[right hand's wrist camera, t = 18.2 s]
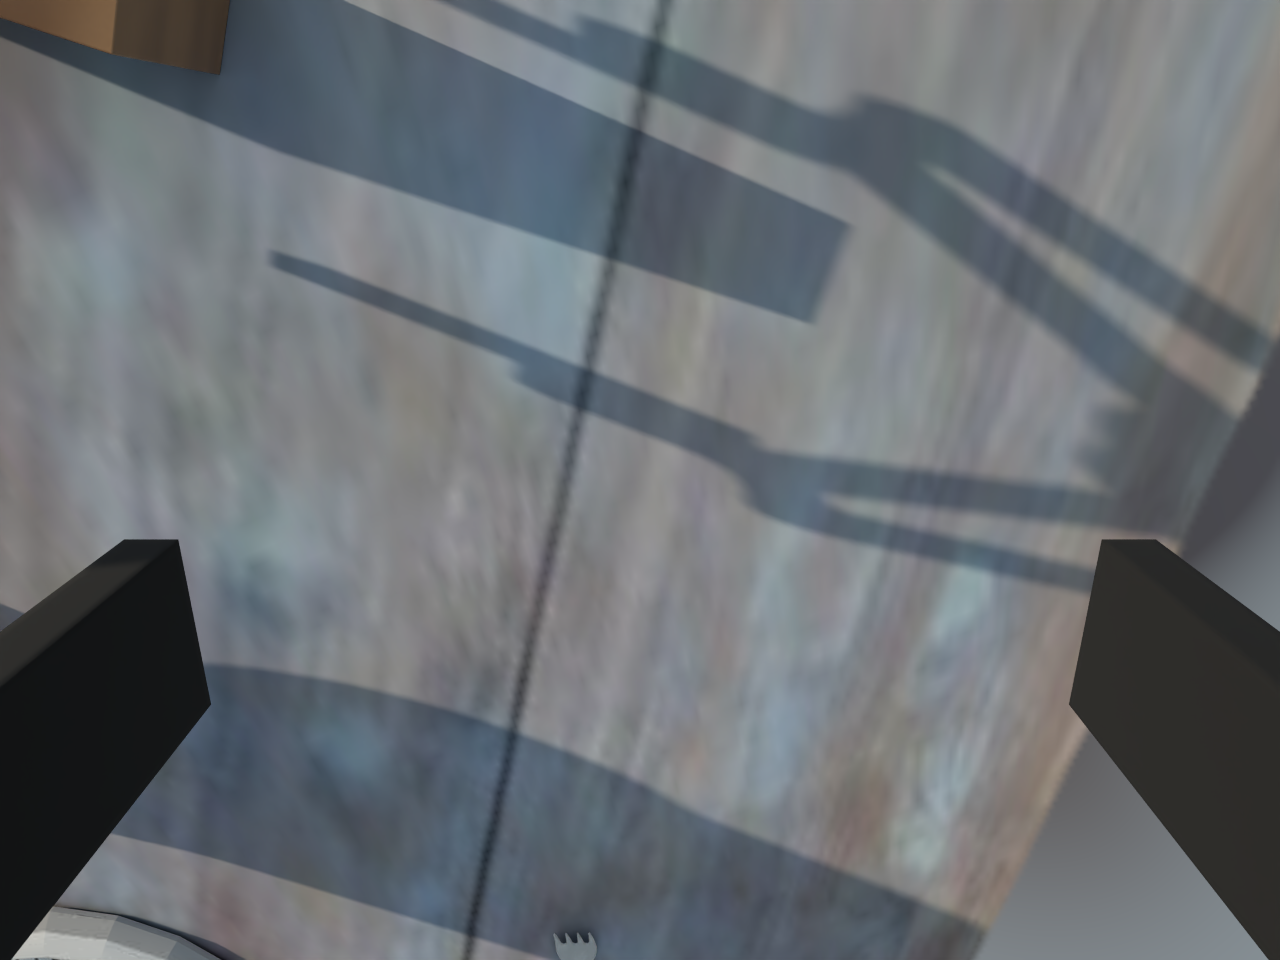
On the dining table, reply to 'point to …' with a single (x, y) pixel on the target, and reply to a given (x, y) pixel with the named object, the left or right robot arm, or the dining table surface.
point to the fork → (576, 948)
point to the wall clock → (103, 939)
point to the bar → (133, 27)
